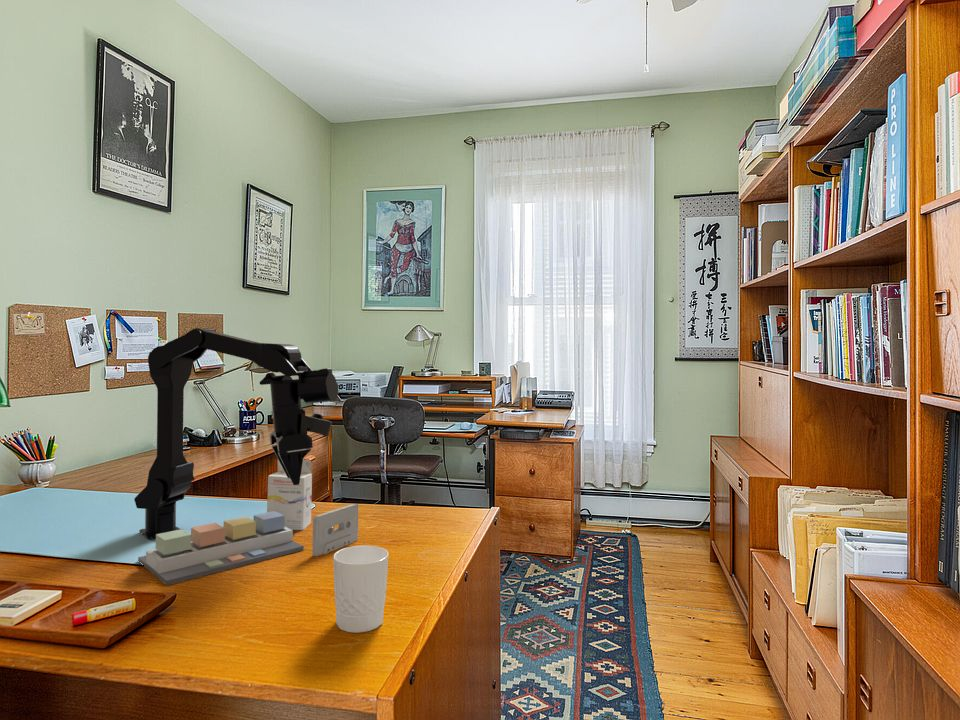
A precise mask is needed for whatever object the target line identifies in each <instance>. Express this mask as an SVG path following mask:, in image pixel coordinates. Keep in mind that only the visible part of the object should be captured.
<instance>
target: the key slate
mask: <svg viewBox="0 0 960 720" xmlns="http://www.w3.org/2000/svg"><path fill="white" fill-rule="evenodd" d="M253 520H254V521H256V529H257V530H259V531H261V532H263V533H265V532H270V531H274V530H279V529H283V528H284V525H285V515H282V514H280V513H278V512H275V511H272V512H267V511H266V512H263V513H258V514H253Z"/></svg>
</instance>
